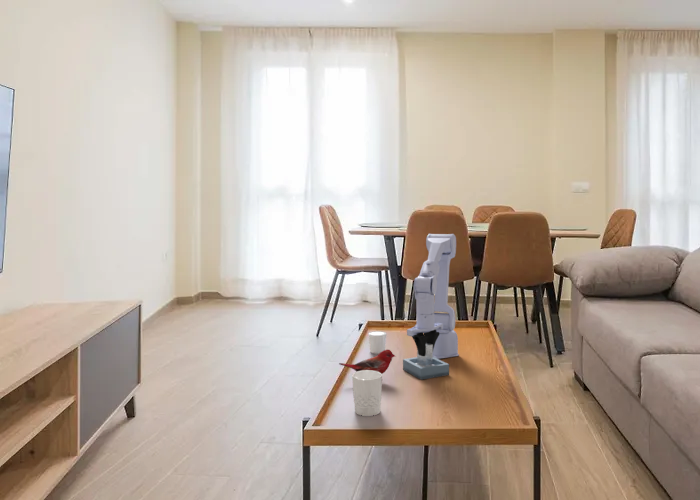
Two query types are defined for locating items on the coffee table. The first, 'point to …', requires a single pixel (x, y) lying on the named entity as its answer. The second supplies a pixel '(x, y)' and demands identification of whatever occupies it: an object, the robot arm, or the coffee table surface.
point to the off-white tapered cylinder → (377, 341)
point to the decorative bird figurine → (374, 362)
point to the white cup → (367, 392)
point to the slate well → (426, 368)
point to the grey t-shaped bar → (425, 356)
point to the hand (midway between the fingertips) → (425, 354)
